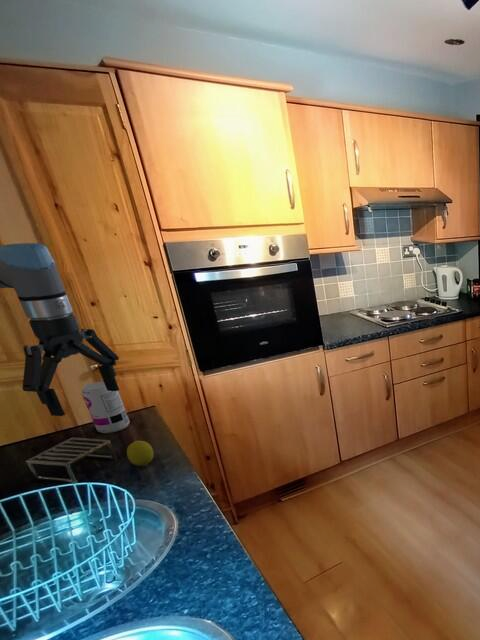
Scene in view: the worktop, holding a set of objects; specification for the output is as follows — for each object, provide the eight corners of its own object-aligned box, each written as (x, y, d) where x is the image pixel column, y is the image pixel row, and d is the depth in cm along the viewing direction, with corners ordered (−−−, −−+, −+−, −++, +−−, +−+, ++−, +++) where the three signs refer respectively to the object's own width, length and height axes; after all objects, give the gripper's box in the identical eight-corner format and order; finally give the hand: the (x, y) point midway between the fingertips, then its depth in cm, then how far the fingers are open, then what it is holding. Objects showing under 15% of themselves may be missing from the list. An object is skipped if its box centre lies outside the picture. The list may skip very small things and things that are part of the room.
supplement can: (97, 436, 140) (79, 393, 134) (98, 426, 145) (80, 384, 139) (130, 428, 144) (114, 386, 138) (129, 419, 150) (114, 378, 144)
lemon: (156, 457, 129) (147, 433, 126) (158, 466, 125) (148, 441, 122) (132, 464, 126) (122, 440, 123) (133, 473, 122) (123, 448, 119)
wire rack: (36, 483, 118) (24, 461, 115) (81, 458, 129) (72, 437, 126) (77, 487, 117) (66, 464, 114) (119, 461, 127) (110, 440, 125)
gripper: (1, 333, 88) (46, 428, 97) (117, 303, 111) (145, 382, 120) (-32, 332, 89) (15, 426, 98) (90, 302, 112) (120, 380, 120)
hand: (87, 402), depth 109 cm, fingers open, 13 cm apart
